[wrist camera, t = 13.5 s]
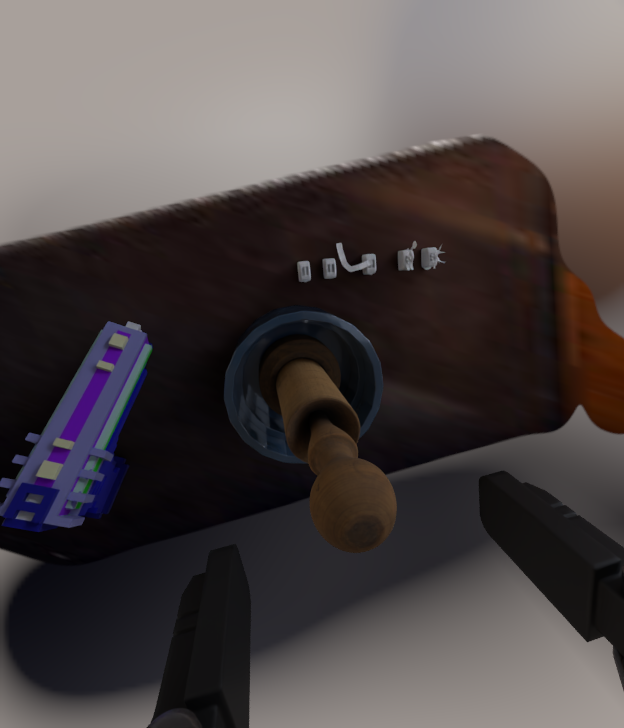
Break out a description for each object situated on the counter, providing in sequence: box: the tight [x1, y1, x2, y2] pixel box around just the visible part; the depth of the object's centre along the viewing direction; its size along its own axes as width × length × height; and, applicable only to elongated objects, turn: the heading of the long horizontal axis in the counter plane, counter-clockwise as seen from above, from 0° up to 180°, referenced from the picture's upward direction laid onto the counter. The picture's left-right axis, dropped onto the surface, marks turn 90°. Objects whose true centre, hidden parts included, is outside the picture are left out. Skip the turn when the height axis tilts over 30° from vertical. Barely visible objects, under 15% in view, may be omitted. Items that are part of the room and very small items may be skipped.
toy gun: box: [0, 321, 153, 532], centre depth 23 cm, size 4×13×10 cm
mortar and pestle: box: [259, 334, 397, 553], centre depth 19 cm, size 7×6×18 cm
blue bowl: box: [224, 305, 383, 463], centre depth 25 cm, size 11×11×6 cm
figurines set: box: [297, 241, 445, 283], centre depth 25 cm, size 12×3×3 cm, turn 96°
